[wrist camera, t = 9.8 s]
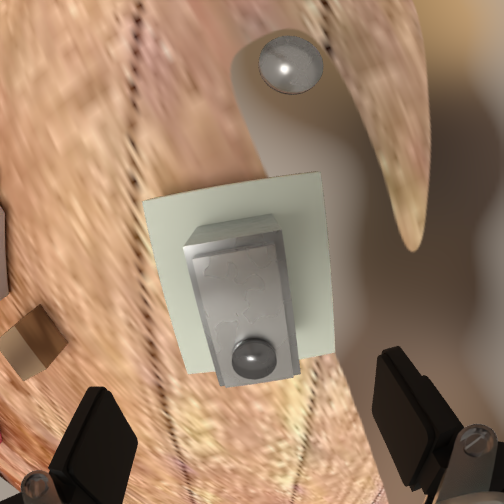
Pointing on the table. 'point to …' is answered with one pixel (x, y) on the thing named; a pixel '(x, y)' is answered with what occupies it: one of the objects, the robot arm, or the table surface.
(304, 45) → the grey disc
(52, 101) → the table surface
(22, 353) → the walnut block
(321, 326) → the stand
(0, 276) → the charger
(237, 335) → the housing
